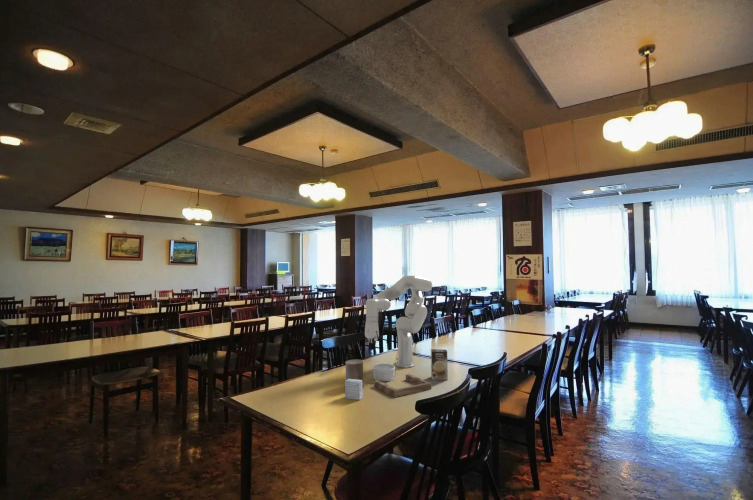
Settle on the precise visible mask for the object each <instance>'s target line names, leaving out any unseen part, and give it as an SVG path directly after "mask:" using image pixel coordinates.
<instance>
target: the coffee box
mask: <svg viewBox="0 0 753 500" xmlns="http://www.w3.org/2000/svg"><path fill="white" fill-rule="evenodd" d="M430 358H431V359H430V362H431V364H430V365H431V367H430V372H431V373H430V374H431V376H430V377H431V380H432V381H448V379H449V377H448V376H449V375H448V371H449V370H448V367H449V366H448V350H447V349H441V348H439V349H436V348H433V349H432V348H431V350H430Z"/></svg>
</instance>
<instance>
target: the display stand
mask: <svg viewBox="0 0 753 500" xmlns="http://www.w3.org/2000/svg"><path fill="white" fill-rule="evenodd" d="M405 380H406V381H408V382H410V383H412V384H414V385H410V386H405V387H400V388H394V387H392V386H390V385H388V384H386V383H384V382H382V381H378V380H375V379H374V380H373V382H374V383H373V386H374V387H375V388H377V389H379V390H380V391H383V392H384V393H386V394H389V395H390V396H391V397H394V398H399V397H403V396H407V395H411V394H416V393H420V392H424V391H429V390H432V382H430V381H427V380H424V379H422V378H419V377H417V376H415V375H413V374H410V373H405Z"/></svg>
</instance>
